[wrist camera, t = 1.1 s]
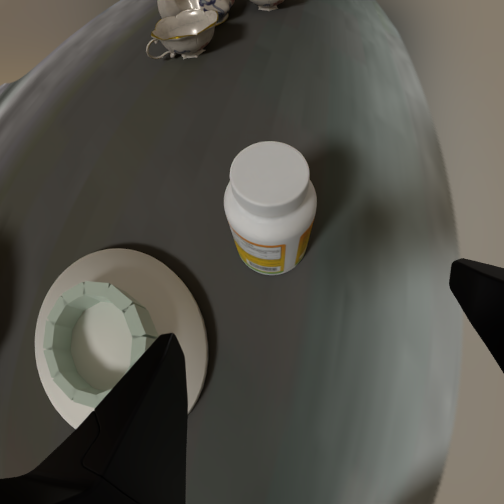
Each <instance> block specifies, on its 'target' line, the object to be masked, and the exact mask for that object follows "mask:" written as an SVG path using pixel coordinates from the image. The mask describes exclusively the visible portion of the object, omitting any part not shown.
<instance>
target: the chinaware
mask: <svg viewBox="0 0 504 504" xmlns="http://www.w3.org/2000/svg"><path fill="white" fill-rule="evenodd" d="M250 1H251V2H252V3H254V4H256V5H258V6H259V9H258V10H267V11H270V10H274V9H278V8H277V6H276V5H279V4H281V3H282V2H283V1H284V0H250ZM157 2H158V9H159V12H160V15H161V17H162V18H163V19H160V20H159V21H158V22H157V23H156V26H155V30H154V31H152V32H151V37H153V38H155V39H153V40H151V41H150V42H149V43H148V45H147V47H146V52H147V54H148V56H149V57H150V58H152V59H159V58H162V57H163V56H164V55H165V54H167V53H171V54H170V56H171V58H173V57H175V56H176V53H177V54H181V55H182V57H184V58H183V59H185V58H192V57H198V55H200V54H201V53H202V52H203V51H206V50H203V48H204V47H205V46H207V44H208V43H209V42H210V41H211V39H212V37H213V35H214V29H215V26H217V25H219V24H221V23H223V22H225V21H226V20H227V19H228V17H229V14H228V12H229V10H230V8H231V7H232V5H233V4H234V2H235V0H157ZM158 39H159V40H160V41H161V42H162V44H163V45H164V46H165V47H166V48H167V49H168V50H170V51H167V52H165V53H164V54H162V55H161V56H158V57H153V56H151V55H150V54H149V46H150V44H151V43H152V42H153V41H154V43H155V44H157V42H158ZM156 40H157V41H156Z"/></svg>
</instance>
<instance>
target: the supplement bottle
mask: <svg viewBox="0 0 504 504" xmlns="http://www.w3.org/2000/svg"><path fill="white" fill-rule="evenodd" d="M309 178H310V172H309V167H308V164H307V161H306V160H305V158H304V157H303V155H302V154H301V153H300V152H299V151H298V150H296V149H295V148H293V147H292V146H289V145H287V144H284V143H281V142H275V141H266V142H259V143H256V144H253V145H251V146H249V147H247V148H245V149H244V150H242V151H241V152H240V153H239V154H238V155H237V156H236V158H235V159H234V161H233V163H232V165H231V168H230V182H229V183H228V186H227V188H226V191H225V195H224V209H225V213H226V217H227V220H228V223H229V225H230V228H231V231H232V234H233V237H234V240H235V244H236V247H237V250H238V252H239V255H240V257H241V259H242V260H243V261H244V263H245V264H246V265H247V266H248V267H250V268H251V269H253V270H254V271H256V272H259V273H261V274H266V275H278V274H282V273H285V272H287V271H289V270H291V269H293V268H294V267H295V266H296V265H297V264H298V263H299V262H300V261H301V259H302V258H303V256H304V254H305V251H306V248H307V244H308V240H309V236H310V233H311V229H312V225H313V222H314V218H315V213H316V207H317V196H316V192H315V189H314V186H313V184H312V182H311V181H310V179H309Z"/></svg>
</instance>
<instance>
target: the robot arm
mask: <svg viewBox="0 0 504 504" xmlns="http://www.w3.org/2000/svg"><path fill="white" fill-rule="evenodd" d="M449 286H450V289H451V291H452V293H453V294H454V296H455V298H456V299H457V301H458V302H459V304H460V306H461V308H462V309H463V311H464V313H465V314H466V316H467V318H468V319H469V321H470V322H471V324H472V326H473V327H474V329H475V330H476V331H477V333H478V334H479V336H480V337H481V339H482V340H483V342H484V343H485V345H486V346H487V347H488V349H489V351H490V352H491V354H492V355H493V357H494V359H495V360H496V362H497V363H498V365H499V366H500V368H501V370H502V371H503V373H504V268H501V267H496V266H493V265H489V264H484V263H480V262H476V261H472V260H468V259H464V258H462V259H458V260H456V261H454V262H453V263H452V265H451V273H450V280H449ZM187 418H188V394H187V380H186V364H185V356H184V353H183V350H182V348H181V346H180V344H179V341H178V339H177V337H176V335H175V334H174V333H166V334H161V335H160V336H159V337H158V338H157V339H156V340H155V341H154V342H153V343H152V344H151V346H150V347H149V348H148V349H147V350H146V351H145V352H144V353H143V355H142V356H141V357H140V358H139V359H138V360H137V361H136V362H135V363H134V365H133V366H132V367H131V368H130V369H129V370H128V371H127V372H126V374H125V375H124V376H123V377H122V378H121V379H120V380H119V382H118V383H117V384H116V385H115V386H114V387H113V388H112V389H111V391H110V392H109V393H108V394H107V395H106V396H105V397H104V398H103V400H102V401H101V402H100V403H99V404H98V405H97V406H96V408H95V409H94V411H92V412H91V413H90V414H89V415H88V417H87V418H86V419H85V420H84V421H83V422H82V423H81V424H80V425H79V427H78V428H77V429H76V430H75V431H74V432H73V433H72V434H71V435H70V436H69V437H68V438H67V439H66V440H65V441H64V442H63V443H62V444H61V445H60V446H59V447H57V448H56V449H55V450H54V451H53V452H52V453H51V454H50V455H49V456H48V457H47V458H46V459H45V460H44V461H43V462H42V463H41V464H40V465H38V466H37V467H36V468H35V469H34V470H32V471H31V472H29V473H27V474H25V475H22V476H19V477H13V478H5V479H0V504H185V490H186V443H187Z"/></svg>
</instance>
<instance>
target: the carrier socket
mask: <svg viewBox="0 0 504 504" xmlns="http://www.w3.org/2000/svg"><path fill="white" fill-rule="evenodd" d="M166 333H174V334H175V335H176V337H177V339H178V341H179V344H180V346H181V348H182V350H183V353H184V356H185V364H186V380H187V394H188V414H189V413H190V412H191V411H192V409H193V407H194V406H195V404H196V402H197V401H198V399H199V396H200V394H201V391H202V389H203V386H204V382H205V379H206V375H207V368H208V360H209V346H208V338H207V331H206V327H205V323H204V319H203V316H202V314H201V311H200V309H199V306H198V304H197V302H196V300H195V299H194V297H193V295H192V293H191V292H190V290H189V289H188V288H187V286H186V285H185V284H184V282H183V281H182V280H181V279H180V278H179V277H178V276H177V275H176V274H175V273H174V272H173V271H172V270H171V269H169V268H168V267H167V266H166V265H164V264H163V263H162V262H160V261H158V260H157V259H155V258H153V257H152V256H149V255H147V254H145V253H142V252H139V251H135V250H131V249H121V248H116V249H106V250H101V251H97V252H94V253H91V254H89V255H87V256H85V257H83V258H81V259H79V260H77V261H76V262H75V263H73V264H72V265H70V266H69V267H68V268H67V269H66V270H65V271H64V272H63V273H62V274H61V275H60V276H59V277H58V278H57V280H56V281H55V282H54V284H53V285H52V287H51V288H50V290H49V291H48V293H47V295H46V297H45V299H44V302H43V304H42V307H41V309H40V313H39V316H38V320H37V326H36V332H35V356H36V362H37V368H38V372H39V376H40V379H41V382H42V384H43V387H44V389H45V391H46V393H47V395H48V397H49V399H50V401H51V402H52V404H53V405H54V407H55V408H56V410H57V411H58V412H59V413H60V415H61V416H62V417H63V418H64V419H65V420H66V421H67V422H68V423H69V424H70V425H71V426H72V427H74V428H75V429H77V428H78V427H79V425H80V424H81V423H82V422H83V421H84V420H85V419H86V418H87V417H88V415H89V414H90V413H91V412H92V411H94V409H95V408H96V406H97V405H98V404H99V403H100V402H101V401H102V400H103V398H104V397H105V396H106V395H107V394H108V393H109V392H110V391H111V389H112V388H113V387H114V386H115V385H116V384H117V383H118V382H119V380H120V379H121V378H122V377H123V376H124V375H125V374H126V372H127V371H128V370H129V369H130V368H131V367H132V366H133V365H134V363H135V362H136V361H137V360H138V359H139V358H140V357H141V356H142V355H143V353H144V352H145V351H146V350H147V349H148V348H149V347H150V346H151V344H152V343H153V342H154V341H155V340H156V339H157V338H158V337H159V336H160V335H161V334H166Z"/></svg>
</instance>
